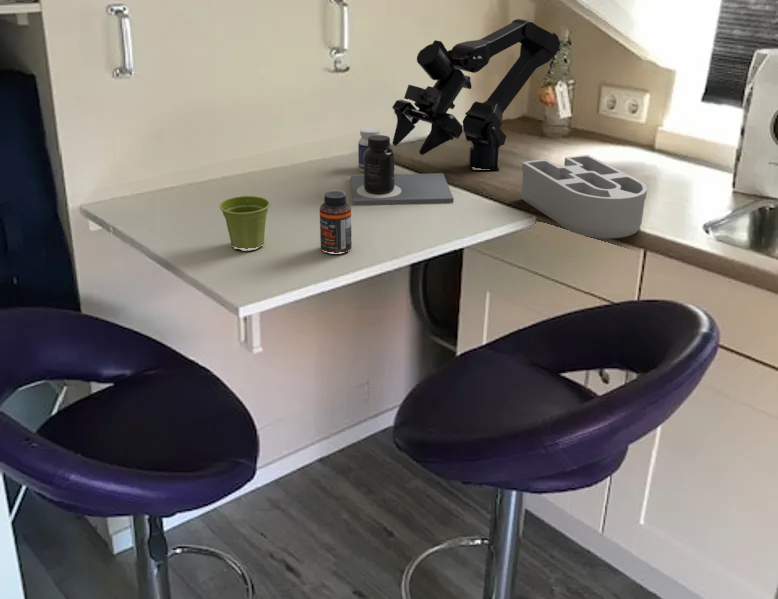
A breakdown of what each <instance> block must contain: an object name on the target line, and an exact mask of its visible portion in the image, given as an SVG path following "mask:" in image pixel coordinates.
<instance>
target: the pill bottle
mask: <svg viewBox="0 0 778 599" xmlns="http://www.w3.org/2000/svg"><path fill="white" fill-rule="evenodd" d="M359 132H360V133H359V135H360V136H361V137H360V138H359V139H358V145H357V146H358V148H357V149H358V152H357V153H358V170H359V171H360V172H362V173H364V152H365V151H366V150H367V149H368V148H369V147H368V137H370V136H374V135H381V134H380V133H381V131H380V129H379V128H377V127H363V128H361V129H360V131H359Z"/></svg>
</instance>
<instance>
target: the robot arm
mask: <svg viewBox="0 0 778 599" xmlns="http://www.w3.org/2000/svg"><path fill="white" fill-rule="evenodd" d="M518 43H519V44H520V47H519V48H520V49H519V50H520V51H519V57H518V58H517V59H516V61H515V62H514V64H513V65H512V66H511V68H510V69H509V70H508V72H506V74H505V76H504V77H503V78H502V80H501V81H500V82H499V84H497V86H496V88H495V89H494V90H493V92H492V93H491V94H490V95H489V97H487V100H485V101H484V102H480V101H474V102H473V103H472V104H471V106H470V108H469V109H468V110H467V111H466V112H465V113H464V114H465V117H464V118H463V120H462V124H461V122H460V121H459V120H458V118H457V117H456V116H455V115H454V114H451V113H448V111H449V110H454V108H455V107H456V105H455V103H454V101H456V98H458V96H459V94H460V93H461V91H462V89H463V88H464V89H468V90H472V82H471V76H469V75H465V74H464V73H463V71H464V72H469V73H472V74H474V73H475V74H477V73H478V72H480V71H481V70H482V69H483V68H485V67H486V66H487V65H488V64H489V62H490V60H491V58H492V57H495V55H497V54H500V53H501V52H503V51H505V50H507V49H508V48H510V47H512V46H515V45H517V44H518ZM560 46H561V42H560V39H559V36H558V35H557V33H555V32H550V31H548V30H546V29H545V28H542V27H540V26H538V25H537V24H535V23H534V22H533V21H531V20H528V19H522V18H521V19H520V18H517V19H514V20H512V22H510V23H508V24H507V25H505V26H503V27H501V28H499V29H497V30H496V31H494V32H491V33H490V34H487V35H486V36H484V37H481V38H480V39H475V40H474V39H473V40H467V41H463V42H459V43H457V44H455V45H454V46H453V47H451V49H449V50H448V49H447V48H446V47H445V45H444V43H443V42H442V41H441V40H438V39H437V40H436V39H435V40H434V41H433V42H432V43H430V44H428V45H426V46H424V47H423V49H421V50H420V51H419V52H418V54H417V55H416V63H418V65H419V66H420V67H421V68H422V69H423V71H424V72H425V73H426V74H427V76H428V77H429V78H430V79H431V80H433V81H436V82H435V83H434V85H433V86H426V87H425V88H423V87H420V86H415V85H412V84H408V86H407V88H406V90H405V94H404V97H403V99H398V100H396V101H395V102H394V103H393V105H392V106H391V109H392V110H393V111H394V112H393V113H394V114H395V116H396V120H397V121H396V122H397V123H396V127H395V132H394V135H393V139H392V145H393V146H395V147H396V146H398V144H400V143H401V142H402V141H403V140H404V139H405V138H406V137H407V136H408V135H409V134H410V133H411V132H412V131H413V130H414V129H415V128H416V125H417V123H419V121H422V122H425V123H429V124H431V130H430V131H429V134H428V135H427V137H426V138H425V140H424V142H423V143H422V145H421V146H420V149H419V151H418V153H419V155H421V156H424V155H425V154H427V153H428V152H430V151H432V150H433V149H435V148H437V147H439V146H441V145H443V144H445V143H447V142H449V141H453V140H454V139H457V140H458V139H459V138H460V137H461V135H462V134H463V132H464V135H465V136H464V137H465V140H466V141H467V142H471V146H470V147H469V148H468V160H467V161H468V162H467V163H468V166H469V167H470V168H471V167H475V168H481V169H490V170H497V171H500V167H499V150H500V149H499V148H501V146H504V145H505V143H506V139H507V135H506V134H505V133H504V131H502V129H501V127H502V125H503V118H504V117H503V115H504V112H505V111H506V110H507V108H508V106H509V105H510V104H511V103H512V102H513V100H514V99H515V97H516V96H517V95H518V94H519V92H520V90H521V89H522V88H523V87H524V85H525V84H526V83H527V82H528V81H529V79H530V78H531V76H532V75H533V73H534V72H535V71H536V70H537V69H539V68H540V67H542V66H543V65H546V64H548V63H549V62H550V61H551V60H552V59H553V58H554V57H555V56H556V55H557V54H558V52H559V51H560ZM404 99H405V100H404ZM406 100H410V101H406ZM411 101H412V102H414V103H412V102H411ZM413 104H414V105H413ZM417 108H418V109H417Z"/></svg>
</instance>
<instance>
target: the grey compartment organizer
mask: <svg viewBox="0 0 778 599" xmlns="http://www.w3.org/2000/svg"><path fill="white" fill-rule="evenodd" d="M521 171H522V179H521V195H520V196H521V199H522V200H523V201H524V202H526V203H528V204H529V205H530V206H532V207H534V208H535V209H536V210H538V211H539V212H541V213H542V214H544V215H545V216H546V217H548V218H550V219H552V220H553V221H555V223H557V224H559V226H561V227H563V228H565V229H567V231H570V232H572V233H574V234H577V235H581V236H584V237H589V238H590V237H591V238H597V239H619V238H625V237H629V236H632V235H634V234H636V233H637V232H638V231H639V229H640V227H641V225H642V223H643V217H644V216H643V215H644V207H645V201H646V198H647V193H648V186H647V185H646V183H644V182H642V181H641V180H639V179H637V178H635V177H633V176H632V175H630V174H627V173H625V172H623V171H621V170H619V169H618V168H616V167H613V166H612V165H609V164H607V163H605V162H604V161H602V160H600V159H598V158H596V157H593V156H591V155H589V154H584V155H582V154H581V155H574V156H566V157H564V164H563V166H560V165H558V164H556V163H554V162H553V161H550V160H549V159H546V158H545V159H539V160H538V159H537V160H529V161H522V166H521Z"/></svg>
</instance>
